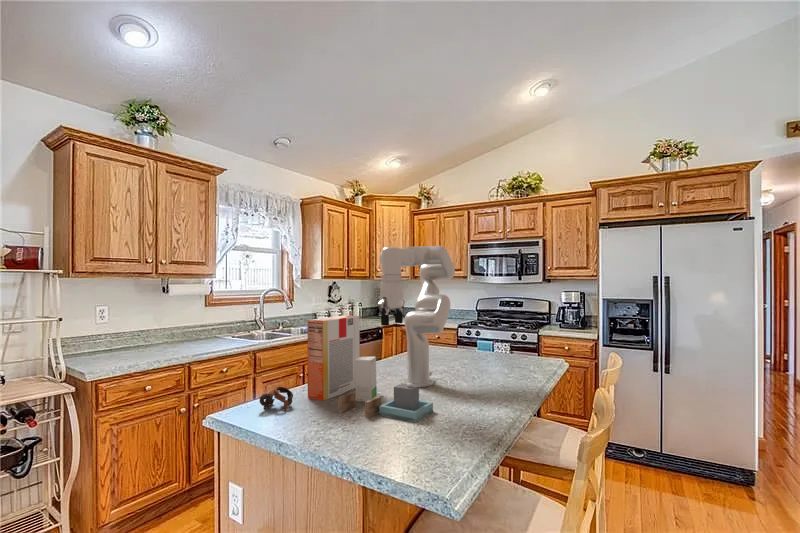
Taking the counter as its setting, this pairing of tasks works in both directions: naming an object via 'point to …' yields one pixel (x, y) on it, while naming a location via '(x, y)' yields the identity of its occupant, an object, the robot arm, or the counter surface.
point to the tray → (406, 411)
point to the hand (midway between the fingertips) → (392, 324)
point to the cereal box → (332, 355)
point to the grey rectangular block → (406, 396)
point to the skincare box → (365, 378)
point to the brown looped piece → (278, 396)
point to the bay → (350, 401)
